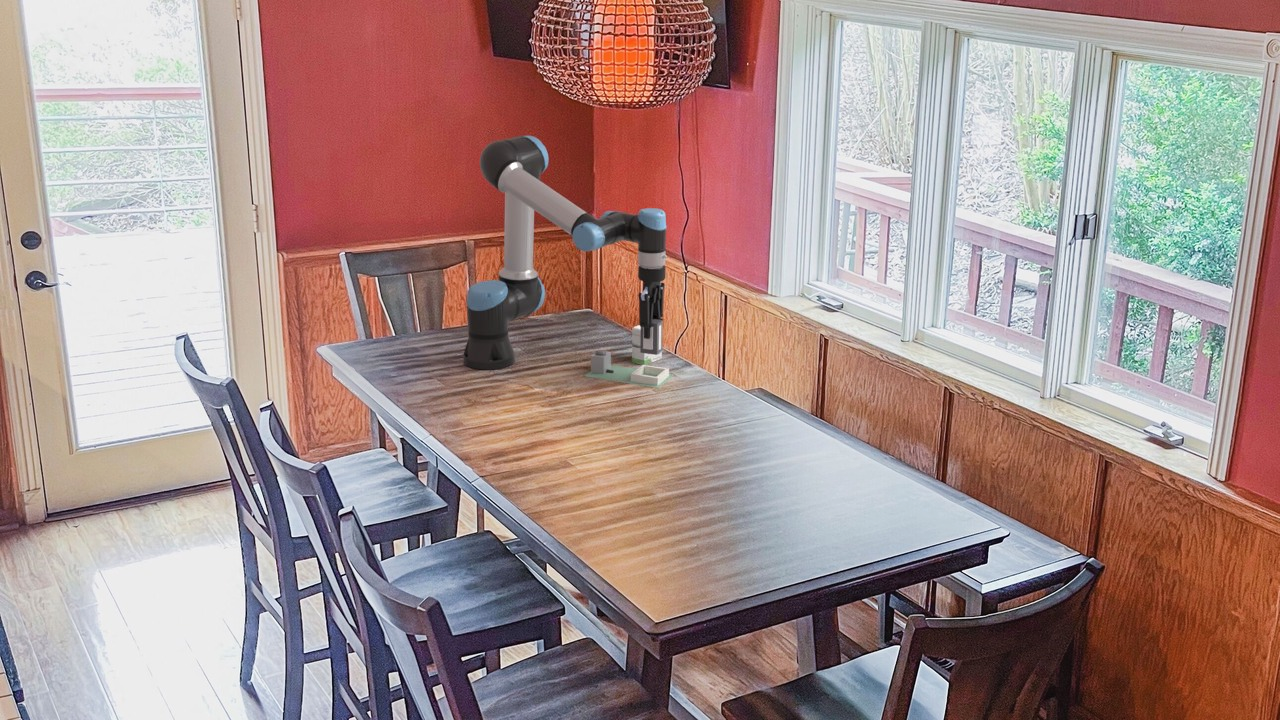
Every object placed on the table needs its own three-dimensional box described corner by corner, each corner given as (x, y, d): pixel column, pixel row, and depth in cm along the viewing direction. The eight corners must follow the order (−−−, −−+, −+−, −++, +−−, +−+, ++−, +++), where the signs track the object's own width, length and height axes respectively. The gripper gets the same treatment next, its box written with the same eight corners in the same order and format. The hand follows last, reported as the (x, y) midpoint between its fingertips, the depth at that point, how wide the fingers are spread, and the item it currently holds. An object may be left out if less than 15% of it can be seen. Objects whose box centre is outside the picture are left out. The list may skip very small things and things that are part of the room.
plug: (640, 352, 349) (640, 321, 346) (645, 348, 353) (646, 318, 350) (657, 354, 348) (657, 324, 345) (662, 350, 351) (662, 320, 348)
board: (583, 380, 355) (583, 376, 354) (601, 367, 365) (601, 363, 365) (658, 392, 346) (658, 388, 346) (674, 378, 357) (674, 374, 356)
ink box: (644, 369, 364) (644, 330, 360) (631, 365, 367) (631, 327, 363) (662, 362, 370) (663, 324, 366) (649, 358, 373) (650, 320, 369)
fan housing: (590, 371, 358) (590, 353, 356) (598, 366, 362) (598, 348, 360) (610, 375, 355) (610, 356, 354) (617, 369, 360) (617, 351, 358)
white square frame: (630, 381, 351) (630, 374, 350) (643, 371, 359) (643, 364, 358) (657, 385, 348) (657, 378, 347) (669, 375, 356) (669, 368, 355)
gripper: (652, 274, 333) (652, 357, 341) (675, 259, 348) (674, 339, 356) (626, 271, 336) (626, 353, 344) (651, 257, 351) (650, 336, 359)
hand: (651, 346), depth 350 cm, fingers closed on plug, 4 cm apart
